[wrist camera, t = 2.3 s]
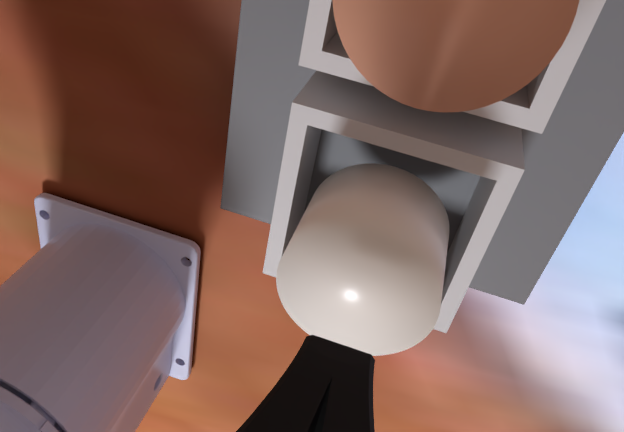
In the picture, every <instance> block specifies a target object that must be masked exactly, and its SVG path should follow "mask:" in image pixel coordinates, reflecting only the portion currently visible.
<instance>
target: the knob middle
mask: <svg viewBox="0 0 624 432" xmlns="http://www.w3.org/2000/svg"><path fill="white" fill-rule="evenodd" d="M332 2H333V11H334V18H335V22H336V27H337V31H338V34H339V36H340V39H341V42H342V44H343V47H344V49H345V50H346V52H347V54H348V56H349V58H350V60H351V61H352V62H353V64H354V65H355V67H356V68H357V70H358V71H359V72H360V73H361V74H362V75H363V76H364V77H365V79H366V80H367V81H368V82H370V83H371V84H372V85H373V86H374V87H375V88H377V89H378V90H379V91H381V92H382V93H384V94H385V95H387V96H388V97H390V98H392V99H394V100H396V101H398V102H400V103H402V104H405V105H407V106H410V107H413V108H417V109H421V110H426V111H432V112H443V113H444V112H462V111H469V110H474V109H478V108H482V107H486V106H489V105H491V104H494V103H496V102H499V101H501V100H503V99H505V98H507V97H509V96H510V95H512V94H514V93H516V92H517V91H519V90H520V89H522V88H523V87H524V86H526V85H527V84H529V83H530V82H531V81H532V80H533V79H534V78H535V77H537V76H538V75H539V74H540V73H541V72H542V71H543V70H544V69H545V67H546V66H547V65H548V64H549V63H550V62H551V61H552V59H553V58H554V56H555V55H556V54H557V52H558V51H559V49H560V48H561V46H562V45H563V43H564V41H565V39H566V37H567V35H568V33H569V31H570V29H571V26H572V24H573V21H574V19H575V16H576V12H577V8H578V4H579V0H332Z"/></svg>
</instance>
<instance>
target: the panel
mask: <svg viewBox="0 0 624 432" xmlns="http://www.w3.org/2000/svg"><path fill="white" fill-rule="evenodd" d="M623 132H624V0H579V4H578V8H577V12H576V16H575V19H574V21H573V24H572V26H571V29H570V31H569V33H568V35H567V37H566V39H565V41H564V43H563V45H562V46H561V48H560V49H559V51H558V52H557V54H556V55H555V56H554V58H553V59H552V61H551V62H550V63H549V64H548V65H547V66H546V67H545V69H544V70H543V71H542V72H541V73H540V74H539V75H538V76H537V77H535V78H534V79H533V80H532V81H531V82H530V83H529V84H527V85H526V86H524V87H523V88H522V89H520V90H519V91H517V92H516V93H514V94H512V95H510V96H509V97H507V98H505V99H503V100H501V101H499V102H496V103H494V104H491V105H489V106H486V107H482V108H478V109H474V110H469V111H462V112H444V113H443V112H432V111H426V110H421V109H417V108H413V107H410V106H407V105H405V104H402V103H400V102H398V101H396V100H394V99H392V98H390V97H388V96H387V95H385V94H384V93H382V92H381V91H379V90H378V89H377V88H375V87H374V86H373V85H372V84H371V83H370V82H368V81H367V80H366V79H365V77H364V76H363V75H362V74H361V73H360V72H359V71H358V70H357V68H356V67H355V65H354V64H353V62H352V61H351V60H350V58H349V56H348V54H347V52H346V50H345V49H344V47H343V44H342V42H341V39H340V36H339V34H338V31H337V27H336V22H335V18H334V11H333V2H332V0H242V2H241V12H240V22H239V32H238V41H237V51H236V61H235V71H234V81H233V90H232V100H231V110H230V120H229V130H228V140H227V149H226V159H225V169H224V179H223V189H222V198H221V208H222V209H225V210H228V211H231V212H234V213H237V214H240V215H244V216H247V217H250V218H253V219H256V220H259V221H262V222H266V223H269V224H271V228H270V233H269V239H268V245H267V251H266V257H265V262H264V268H263V273H264V274H267V275H270V276H273V277H276V274H277V268H278V265H279V262H280V260H281V258H282V256H283V254H284V252H285V250H286V248H287V246H288V244H289V242H290V240H291V238H292V236H293V234H294V232H295V230H296V228H297V226H298V224H299V222H300V220H301V218H302V216H303V214H304V212H305V211H306V209H307V207H308V205H309V203H310V201H311V199H312V197H313V195H314V193H315V191H316V190H317V188H318V187H319V185H320V184H321V183H322V182H323V181H324V180H325V179H326V178H328V177H329V176H330V175H332V174H333V173H335V172H337V171H339V170H341V169H343V168H346V167H349V166H353V165H358V164H366V163H376V164H385V165H389V166H394V167H397V168H400V169H403V170H405V171H407V172H409V173H411V174H413V175H415V176H417V177H418V178H420V179H421V180H423V181H424V182H425V183H426V184H427V185H429V186H430V187H431V188H432V190H433V191H434V192H435V193H436V194H437V195H438V197H439V198H440V200H441V201H442V203H443V205H444V207H445V209H446V212H447V215H448V220H449V241H448V249H447V257H446V266H445V274H444V282H443V291H442V299H441V307H440V314H439V317H438V320H437V323H436V324H435V326H434V328H433V329H435V330H438V331H441V332H444V333H447V331H448V329H449V327H450V325H451V322H452V320H453V318H454V316H455V314H456V312H457V310H458V308H459V306H460V304H461V302H462V300H463V297H464V295H465V293H466V291H467V289H468V287H470V288H473V289H476V290H480V291H483V292H486V293H489V294H492V295H495V296H498V297H502V298H505V299H508V300H511V301H514V302H517V303H521V304H525V302H526V300H527V298H528V297H529V295H530V293H531V291H532V290H533V288H534V286H535V284H536V283H537V281H538V279H539V278H540V276H541V274H542V272H543V271H544V269H545V267H546V265H547V264H548V262H549V260H550V258H551V257H552V255H553V253H554V252H555V250H556V248H557V246H558V245H559V243H560V241H561V239H562V238H563V236H564V234H565V232H566V231H567V229H568V227H569V226H570V224H571V222H572V220H573V219H574V217H575V215H576V213H577V212H578V210H579V208H580V206H581V205H582V203H583V201H584V200H585V198H586V196H587V194H588V193H589V191H590V189H591V187H592V186H593V184H594V182H595V180H596V179H597V177H598V175H599V174H600V172H601V170H602V168H603V167H604V165H605V163H606V161H607V160H608V158H609V156H610V155H611V153H612V151H613V149H614V148H615V146H616V144H617V142H618V141H619V139H620V137H621V135H622V134H623Z"/></svg>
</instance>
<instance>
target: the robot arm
mask: <svg viewBox="0 0 624 432" xmlns="http://www.w3.org/2000/svg"><path fill="white" fill-rule="evenodd" d="M34 204H35V211H36V218H37V225H38V232H39V239H40V246H41V250H39V251H38V252H37V253H36V254H35V255H34V256H33V257H32V258H31V259H30V260H28V261H27V262H26V263H25V264H24V265H23V266H22V267H21V268H20V269H18V270H17V271H16V272H15V273H14V274H13V275H12V276H11V277H10V278H9V279H7V280H6V281H5V282H4V283H3V284H2V285H1V286H0V432H135V431H136V429H137V428H138V426H139V424H140V423H141V421H142V419H143V418H144V416H145V414H146V413H147V411H148V409H149V408H150V406H151V404H152V403H153V401H154V399H155V398H156V396H157V395H158V393H159V391H160V390H161V388H162V386H163V385H164V383H165V381H166V380H167V378H168V376H171V377H174V378H177V379H180V380H186V379H188V377H189V375H190V373H191V366H192V354H193V342H194V329H195V317H196V304H197V292H198V279H199V267H200V254H201V251H200V248H199V246H198V245H197V244H196V243H195V242H194V241H192V240H189V239H186V238H183V237H180V236H177V235H174V234H170V233H167V232H164V231H161V230H158V229H155V228H152V227H149V226H146V225H143V224H140V223H137V222H134V221H131V220H128V219H125V218H121V217H118V216H115V215H112V214H109V213H106V212H103V211H100V210H97V209H94V208H91V207H88V206H85V205H82V204H79V203H76V202H72V201H69V200H66V199H63V198H60V197H57V196H54V195H51V194H48V193H41V194H39V195H38V196H37V197H36V198H35V199H34ZM186 257H187V258H189V259H190V260H191V261H189V260H187V259H186ZM374 363H375V360H374V358H373V357H372V355H371V354H368V353H365V352H362V351H360V350H357V349H354V348H351V347H348V346H345V345H342V344H339V343H336V342H333V341H330V340H327V339H324V338H321V337H318V336H315V335H310V336H307V337H306V338H305V340H304V342H303V344H302V346H301V348H300V350H299V351H298V353H297V355H296V356H295V358H294V360H293V361H292V363H291V364H290V366H289V367H288V369H287V370H286V371H285V373H284V374H283V375H282V377H281V378H280V380H279V381H278V382H277V384H276V385H275V386H274V388H273V389H272V390H271V391H270V393H269V394H268V395H267V396H266V397H265V399H264V400H263V401H262V402H261V404H260V405H259V406H258V407H257V409H256V410H255V411H254V412H253V413H252V415H251V416H250V417H249V418H248V419H247V420H246V421H245V423H244V424H243V425H242V426H241V427H240V428H239V429H238V430H237V431H236V432H374V415H373V374H374Z"/></svg>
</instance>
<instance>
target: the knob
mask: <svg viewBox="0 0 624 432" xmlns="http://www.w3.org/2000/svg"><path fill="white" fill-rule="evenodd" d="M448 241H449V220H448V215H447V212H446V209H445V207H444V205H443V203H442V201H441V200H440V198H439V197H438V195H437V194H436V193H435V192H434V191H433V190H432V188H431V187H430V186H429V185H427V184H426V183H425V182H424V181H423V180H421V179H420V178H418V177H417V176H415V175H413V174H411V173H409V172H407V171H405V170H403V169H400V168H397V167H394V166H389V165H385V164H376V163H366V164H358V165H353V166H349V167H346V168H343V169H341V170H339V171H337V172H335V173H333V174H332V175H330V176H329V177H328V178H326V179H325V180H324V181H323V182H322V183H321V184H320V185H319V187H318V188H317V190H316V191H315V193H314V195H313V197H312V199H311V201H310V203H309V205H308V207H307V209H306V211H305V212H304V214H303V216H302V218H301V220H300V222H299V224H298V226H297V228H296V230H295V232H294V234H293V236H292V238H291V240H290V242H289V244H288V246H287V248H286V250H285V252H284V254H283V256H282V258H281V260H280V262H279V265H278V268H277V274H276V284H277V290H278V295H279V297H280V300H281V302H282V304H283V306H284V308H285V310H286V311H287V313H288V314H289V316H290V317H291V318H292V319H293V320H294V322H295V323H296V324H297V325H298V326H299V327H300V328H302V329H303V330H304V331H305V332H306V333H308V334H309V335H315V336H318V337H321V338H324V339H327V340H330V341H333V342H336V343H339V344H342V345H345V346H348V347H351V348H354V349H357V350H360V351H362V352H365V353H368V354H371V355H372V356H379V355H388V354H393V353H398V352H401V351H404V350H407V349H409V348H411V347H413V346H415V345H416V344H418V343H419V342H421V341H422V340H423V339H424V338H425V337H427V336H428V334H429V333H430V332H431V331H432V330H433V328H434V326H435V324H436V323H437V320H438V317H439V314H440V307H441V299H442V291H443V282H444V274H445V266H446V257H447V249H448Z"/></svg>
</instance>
